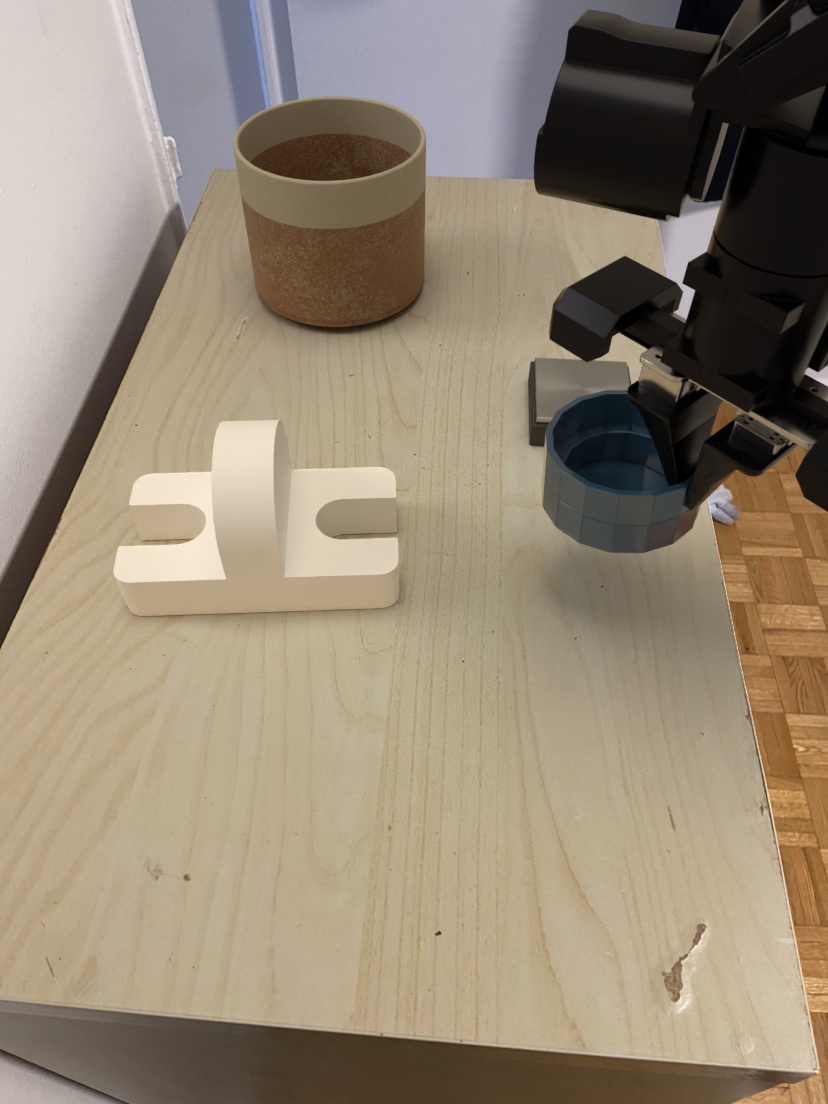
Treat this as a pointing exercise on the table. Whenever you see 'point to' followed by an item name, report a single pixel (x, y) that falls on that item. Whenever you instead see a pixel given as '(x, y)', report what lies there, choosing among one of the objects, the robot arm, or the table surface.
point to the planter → (334, 208)
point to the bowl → (610, 478)
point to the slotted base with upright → (260, 533)
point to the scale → (567, 387)
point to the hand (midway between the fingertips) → (687, 501)
